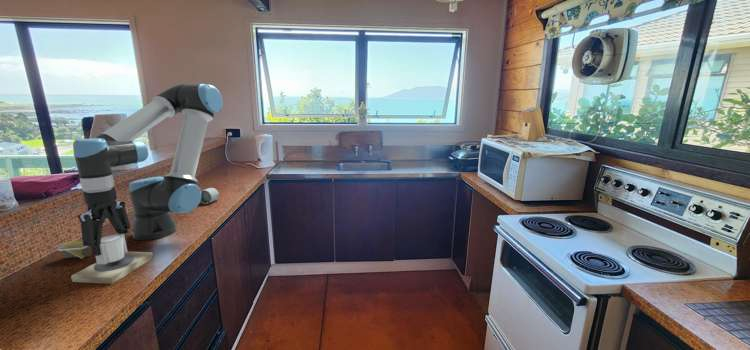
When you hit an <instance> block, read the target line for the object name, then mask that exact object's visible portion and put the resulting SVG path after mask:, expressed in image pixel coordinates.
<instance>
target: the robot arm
mask: <svg viewBox="0 0 750 350" xmlns="http://www.w3.org/2000/svg"><path fill="white" fill-rule="evenodd" d="M223 106H224V100H223V97H222V94H221V92H220V91H219V89H218V88H217V87H216V86H214V85H211V84H208V83H207V84H205V83H200V84H199V83H198V84H195V83H194V84H193V83H192V84H191V83H190V84H176V85H173V86H171V87H169V88H168V89H165V90H164V91H162V92H160V93H158V94H157V95H155V96H154V97H152V99H151V102H150V103H148V104H146V105H145V106H143V107H142V108H140V109H138V110H137V111H136V112H134V113H132V114H130V115H129V116H127V117H126V118H124V119H123V120H121V121H119V122H117V123H116V124H115V125H113V126H111V127H110V128H108V129H106V130H105V131H103V132H102V133H100V134H98V135H96V136H95V137H94V138H93V137H92V138H91V137H90V138H79V139H76V140H74V141H73V143H72V149H73V157H74V159H75V165H76V168H77V172H78V176H79V181H80V187H81V190H82V191H83V192H82V197H83V201H84V203H85V204H86V206H87V210H86V212H85V213H83V214H78V215H77V218H78V220H79V222H80V228H81V238H82V240H83V246H89V247H91V250H92V251H91V252H92V255H93V256H95V261H96V262H97V264H107V259H106V254H105V249H104V244H100V243H101V238H102V237H103V236H102V235H103V226H104V223H105V222H106V219H107V220H108V221H109V222H110V224H111V226H112V228H113V229H114V231H115V232H116V234H120V235H123V243H124V253H126V252H128V247H127V240H128V239H127V236H126V235H127V234H128V233H129V230H130V229H131V224H130V221H129V220H130V219H129V218H128V215H127V211H126V202H125V201H117V197H118V196H117V192H116V191H117V190H116V188H115V181H114V175H113V170H112V168H116V167H121V166H122V167H123V166H126V165H132V164H135V165H136V164H138V163H142V162H145V161H146V160H147V159H148V157H149V149H148V146H147V145H146V143H144V142H143V141H141V140H137V139H138V138H139V137H141V136H142V135H144V134H145V133H146V132H148V131H149V130H151V129H153V127H155V126H156V125H158V124H160V123H161V122H163V121H164V120H165V119H166V118H173V117H174V116H175V115H178V114H183V116H184V119H183V122H182V125H181V131H180V133H179V138H178V141H177V145H176V149H175V152H174V155H173V156H174V157H173V160H172V165H171V167H170V172H169V173H167V174H165V175H164V176H152V177H147V178H141V179H137V180H134V181H132V182H130V183H129V185H128V188H129V190H128V191H129V196H130V201H131V205H132V210H133V215H134V216H133V217H134V221H133V223H132V224H133V225H132V231H131V233H132V234H131V235H132V239H134V240H135V241H137V240H138V241H150V240H156V239H161V238H164V237H166V236H169V235H172V234H173V233H175V231H177V229H178V228H177V223H176V222H175V220H174V218H173V216H172V215H171V213H173V214H186V213H191V212H192V211H194V210H195V209H196V208H197V207H198V206H199V204H200V203H201V202H200V200H201V192H200V191H201V187H199V186H198V183H199V181H198V180H197V178H196V174H197V169H198V165H199V162H200V157H201V152H202V150H203V144H204V139H205V138H206V137H205V136H206V131H207V128H208V124H209V123H210V122H212V121H213V119H214V117H215V114H218V113H219V112H221V111H222V109H223ZM95 241H96V242H95Z"/></svg>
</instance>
